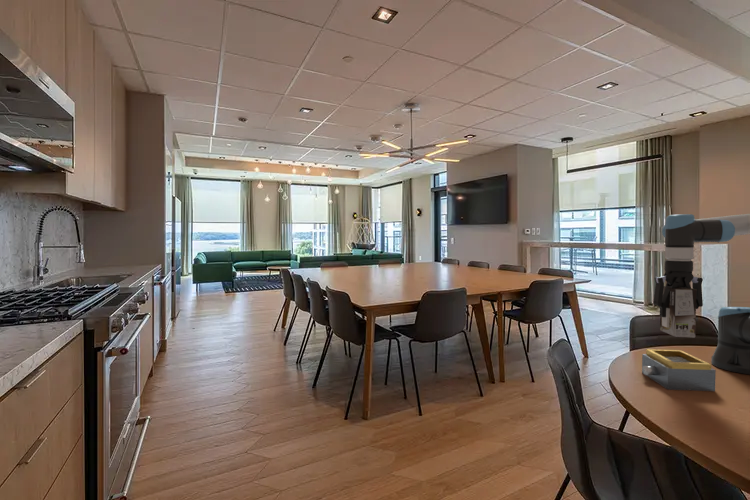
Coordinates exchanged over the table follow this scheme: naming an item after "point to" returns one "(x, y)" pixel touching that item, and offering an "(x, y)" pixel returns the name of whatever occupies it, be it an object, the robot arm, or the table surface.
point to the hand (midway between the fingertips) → (677, 326)
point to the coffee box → (681, 312)
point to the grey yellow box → (678, 370)
